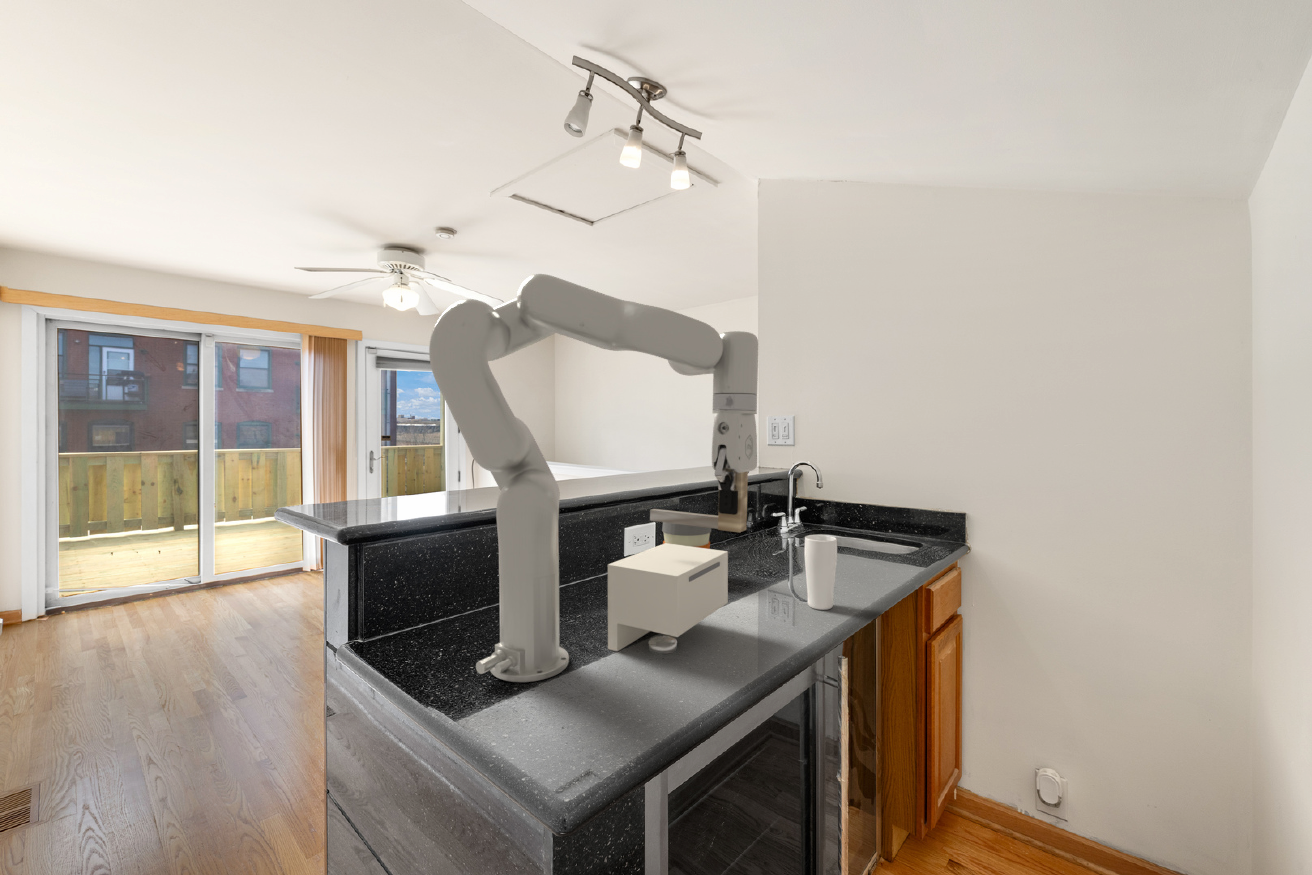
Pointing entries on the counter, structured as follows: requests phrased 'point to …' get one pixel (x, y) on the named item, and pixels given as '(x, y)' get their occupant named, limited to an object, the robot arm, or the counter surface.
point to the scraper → (711, 521)
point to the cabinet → (664, 591)
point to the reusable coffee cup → (686, 535)
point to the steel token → (662, 644)
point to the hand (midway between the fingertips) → (732, 511)
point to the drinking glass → (820, 570)
